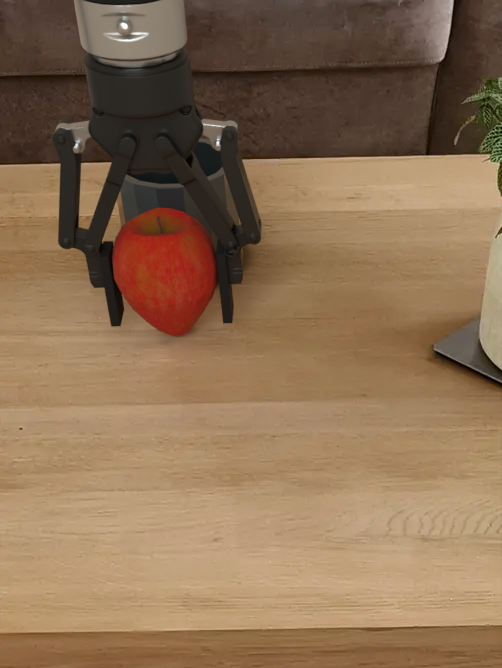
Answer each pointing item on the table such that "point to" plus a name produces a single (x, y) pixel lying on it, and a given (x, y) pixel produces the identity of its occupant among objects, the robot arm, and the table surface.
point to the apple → (165, 268)
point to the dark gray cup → (176, 191)
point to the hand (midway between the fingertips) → (173, 316)
